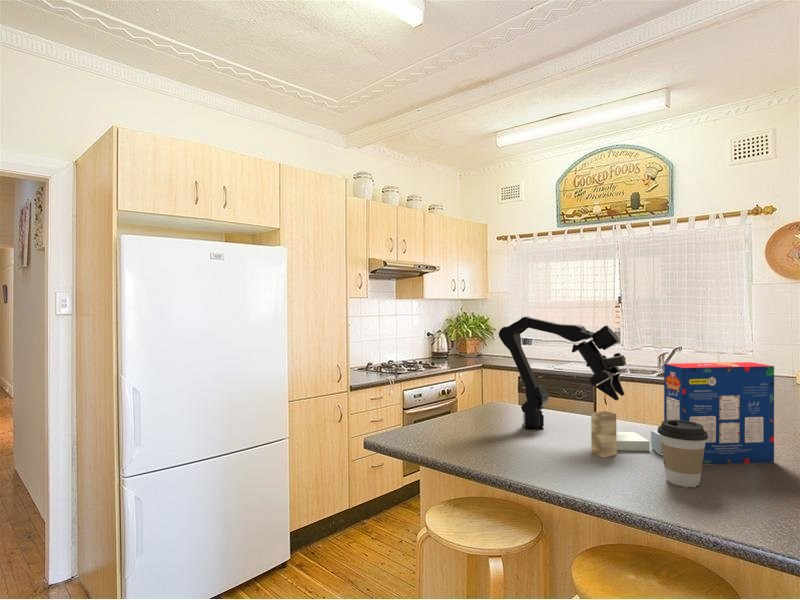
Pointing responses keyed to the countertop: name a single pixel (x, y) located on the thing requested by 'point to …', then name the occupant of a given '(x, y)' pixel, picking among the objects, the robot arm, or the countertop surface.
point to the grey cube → (656, 441)
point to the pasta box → (725, 408)
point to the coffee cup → (682, 451)
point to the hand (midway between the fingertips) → (620, 397)
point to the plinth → (631, 441)
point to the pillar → (603, 433)
